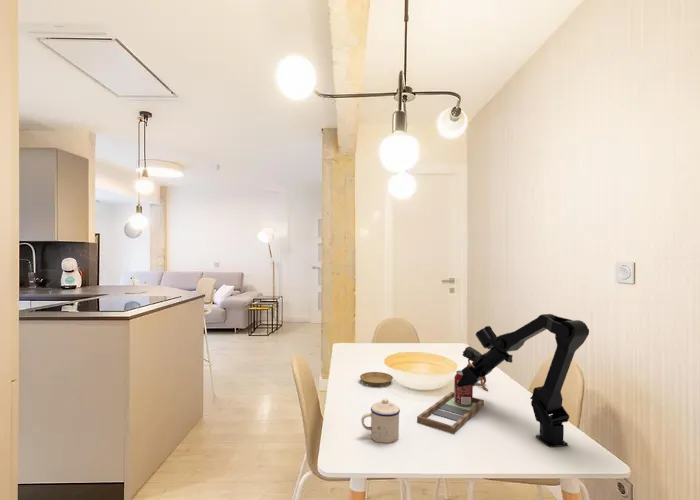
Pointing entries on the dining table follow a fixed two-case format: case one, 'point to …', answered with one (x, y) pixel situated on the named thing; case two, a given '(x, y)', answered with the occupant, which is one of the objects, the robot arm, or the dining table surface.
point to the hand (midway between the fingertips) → (462, 382)
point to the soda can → (462, 392)
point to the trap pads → (450, 415)
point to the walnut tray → (442, 426)
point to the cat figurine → (480, 377)
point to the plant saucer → (376, 378)
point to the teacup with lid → (383, 421)
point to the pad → (452, 403)
